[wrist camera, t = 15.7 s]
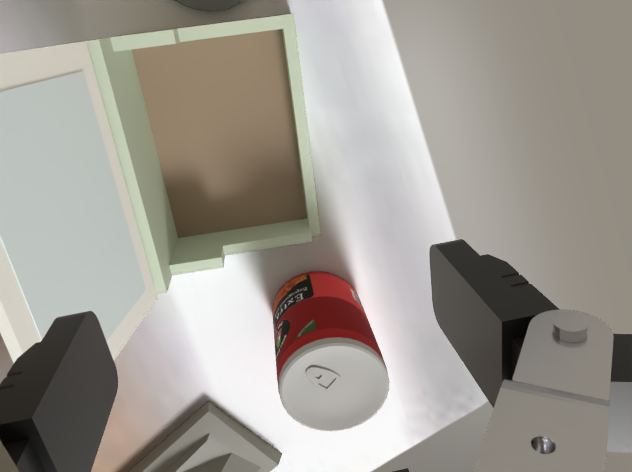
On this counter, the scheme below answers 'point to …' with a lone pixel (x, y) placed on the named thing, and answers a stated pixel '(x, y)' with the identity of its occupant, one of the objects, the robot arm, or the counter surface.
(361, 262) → the counter surface
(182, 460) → the soap mold
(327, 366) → the canned food
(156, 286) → the box
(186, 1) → the slate saucer
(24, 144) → the glass lid
